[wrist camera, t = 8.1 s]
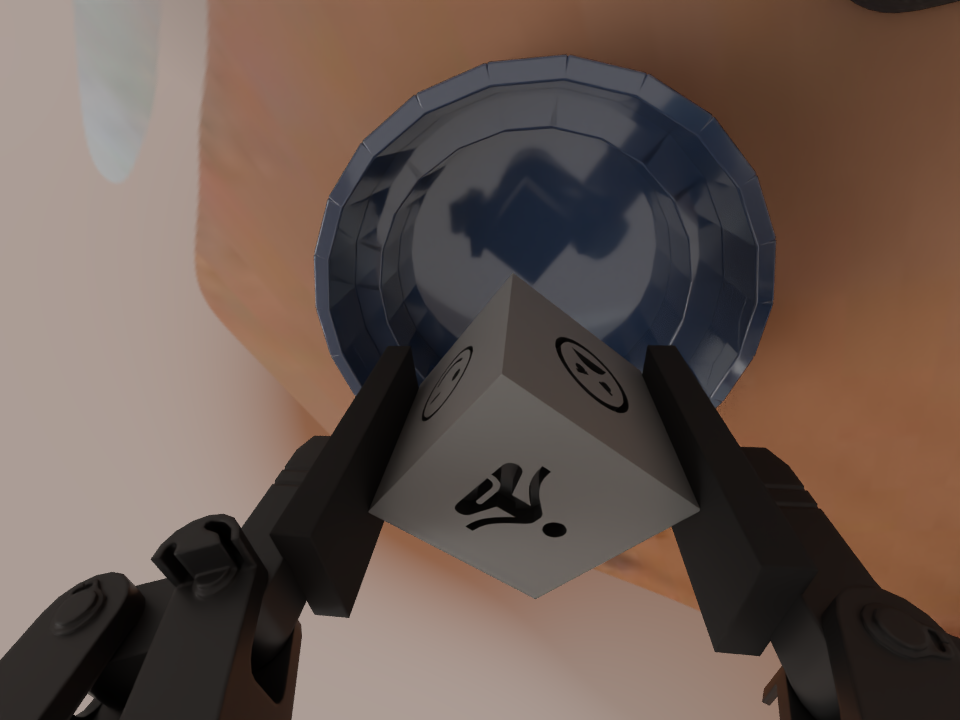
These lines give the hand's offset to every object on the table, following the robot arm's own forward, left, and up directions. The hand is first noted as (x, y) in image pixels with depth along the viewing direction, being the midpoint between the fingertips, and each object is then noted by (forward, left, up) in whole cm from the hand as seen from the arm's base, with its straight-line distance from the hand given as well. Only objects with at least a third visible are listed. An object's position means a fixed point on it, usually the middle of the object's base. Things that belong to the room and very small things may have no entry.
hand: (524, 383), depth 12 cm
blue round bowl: (0, 0, -10) cm, 10 cm away
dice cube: (0, 0, 0) cm, 0 cm away
